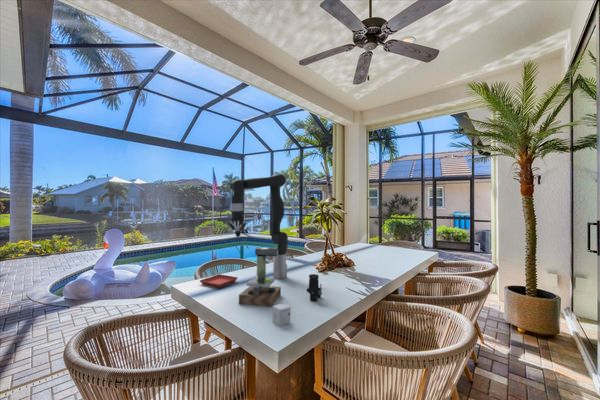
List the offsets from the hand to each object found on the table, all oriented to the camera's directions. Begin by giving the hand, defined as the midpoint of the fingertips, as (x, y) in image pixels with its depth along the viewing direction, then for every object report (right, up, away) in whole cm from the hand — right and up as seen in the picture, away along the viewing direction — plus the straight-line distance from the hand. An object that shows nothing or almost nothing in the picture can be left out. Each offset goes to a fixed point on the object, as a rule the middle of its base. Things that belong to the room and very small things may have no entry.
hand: (238, 236), depth 173 cm
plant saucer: (-14, -32, +4) cm, 35 cm away
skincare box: (+32, -32, -53) cm, 70 cm away
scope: (+49, -32, -24) cm, 63 cm away
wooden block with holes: (+19, -32, -25) cm, 45 cm away
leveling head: (+20, -25, -26) cm, 41 cm away
